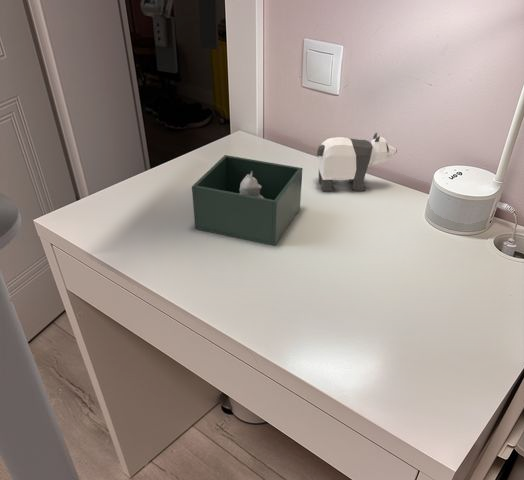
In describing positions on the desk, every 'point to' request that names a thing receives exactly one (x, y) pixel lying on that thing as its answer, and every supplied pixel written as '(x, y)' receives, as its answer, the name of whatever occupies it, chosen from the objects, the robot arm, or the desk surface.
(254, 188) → the grey toy figure
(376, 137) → the giant panda
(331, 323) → the desk surface
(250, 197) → the bin
